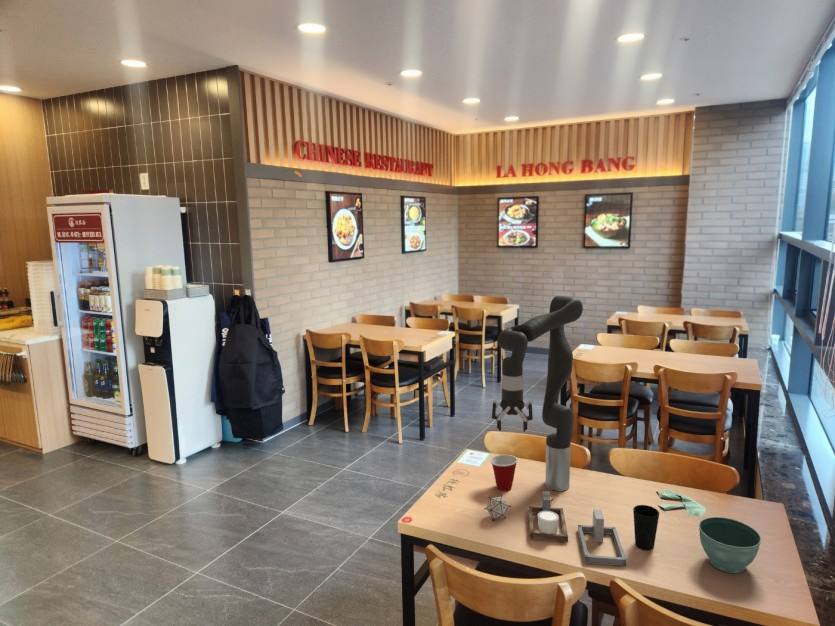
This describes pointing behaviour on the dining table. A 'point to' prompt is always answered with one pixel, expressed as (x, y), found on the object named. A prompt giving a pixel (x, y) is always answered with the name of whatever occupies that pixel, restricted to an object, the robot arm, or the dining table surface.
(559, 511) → the wooden picture frame
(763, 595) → the dining table surface
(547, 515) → the white cylinder
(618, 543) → the grey hollow rectangular frame
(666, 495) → the cloth
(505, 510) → the game die
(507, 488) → the plastic cup
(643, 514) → the cup
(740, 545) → the green bowl
